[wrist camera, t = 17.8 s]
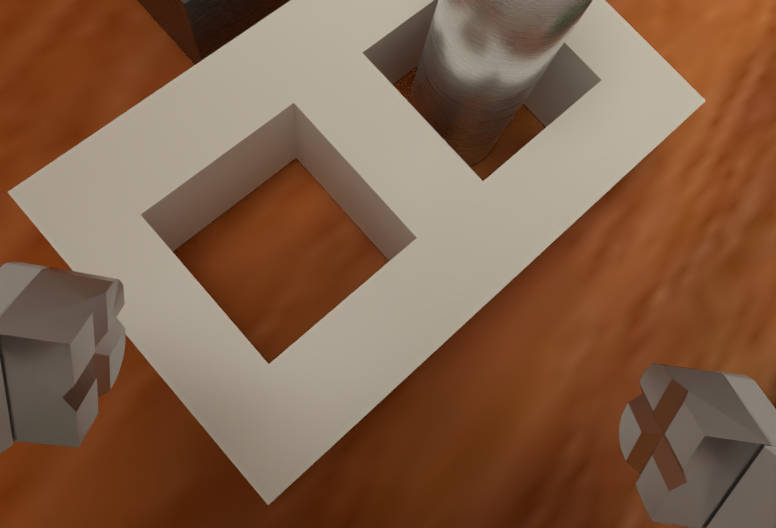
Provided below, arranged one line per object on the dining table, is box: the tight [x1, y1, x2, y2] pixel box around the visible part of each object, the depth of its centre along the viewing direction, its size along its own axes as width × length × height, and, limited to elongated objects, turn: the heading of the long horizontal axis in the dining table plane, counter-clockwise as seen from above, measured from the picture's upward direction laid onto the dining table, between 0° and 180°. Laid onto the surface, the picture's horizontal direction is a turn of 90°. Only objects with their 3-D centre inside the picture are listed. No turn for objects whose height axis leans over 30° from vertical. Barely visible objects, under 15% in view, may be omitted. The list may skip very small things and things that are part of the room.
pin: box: [407, 0, 593, 167], centre depth 19 cm, size 4×4×14 cm
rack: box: [8, 0, 706, 505], centre depth 23 cm, size 12×20×4 cm, turn 132°
